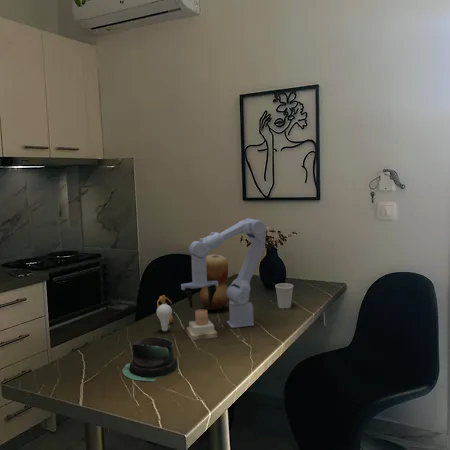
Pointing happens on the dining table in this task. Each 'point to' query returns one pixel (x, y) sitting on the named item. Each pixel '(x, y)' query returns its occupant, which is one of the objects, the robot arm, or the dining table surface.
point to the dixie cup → (284, 294)
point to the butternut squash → (216, 272)
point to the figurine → (162, 299)
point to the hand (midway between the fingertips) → (200, 305)
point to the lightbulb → (164, 315)
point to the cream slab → (201, 327)
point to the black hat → (151, 359)
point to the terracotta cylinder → (201, 317)
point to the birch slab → (201, 335)
